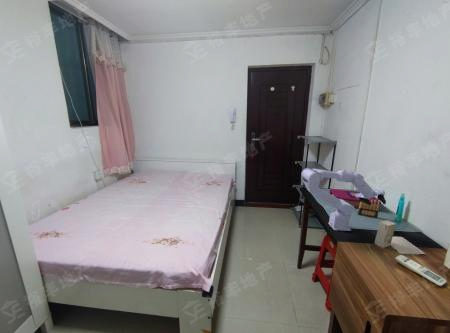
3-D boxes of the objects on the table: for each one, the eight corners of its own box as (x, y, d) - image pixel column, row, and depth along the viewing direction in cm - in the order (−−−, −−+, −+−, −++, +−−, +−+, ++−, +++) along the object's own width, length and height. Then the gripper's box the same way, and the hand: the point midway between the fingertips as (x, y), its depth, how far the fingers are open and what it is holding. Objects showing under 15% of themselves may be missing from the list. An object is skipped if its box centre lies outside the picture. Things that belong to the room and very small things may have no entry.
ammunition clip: (357, 214, 140) (361, 197, 137) (357, 213, 142) (360, 196, 139) (377, 218, 136) (381, 200, 133) (376, 217, 138) (380, 199, 135)
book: (328, 196, 172) (330, 187, 171) (368, 200, 166) (370, 191, 164) (335, 206, 153) (336, 196, 151) (379, 212, 146) (382, 201, 144)
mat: (400, 253, 101) (400, 252, 101) (380, 237, 115) (380, 236, 115) (425, 254, 101) (425, 253, 101) (401, 237, 115) (402, 236, 114)
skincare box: (383, 248, 105) (388, 225, 102) (373, 243, 109) (378, 221, 106) (391, 245, 107) (396, 223, 104) (381, 241, 111) (387, 219, 108)
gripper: (379, 180, 115) (392, 196, 118) (352, 185, 127) (365, 199, 130) (377, 190, 112) (391, 206, 115) (350, 194, 124) (363, 209, 127)
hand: (377, 203), depth 122 cm, fingers open, 7 cm apart
